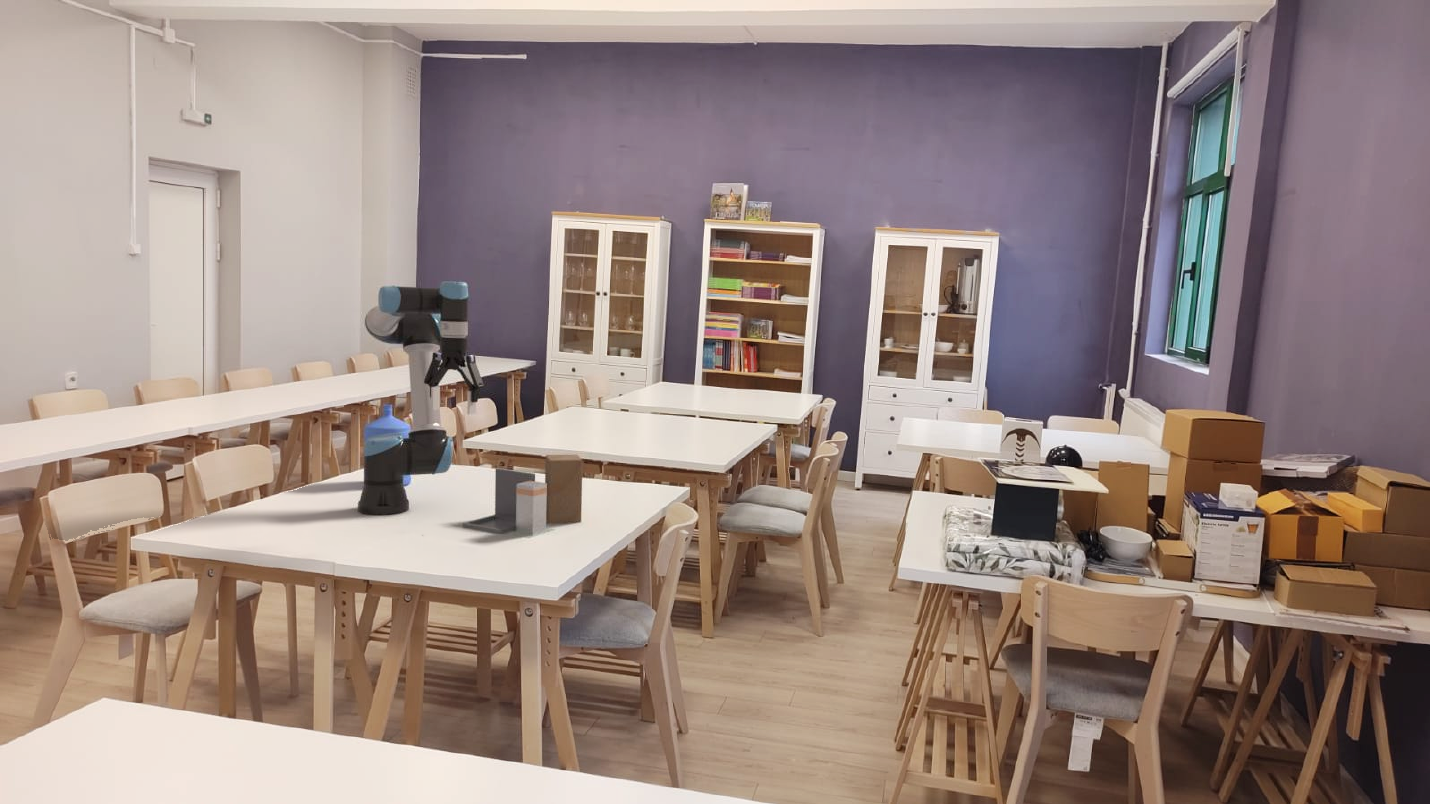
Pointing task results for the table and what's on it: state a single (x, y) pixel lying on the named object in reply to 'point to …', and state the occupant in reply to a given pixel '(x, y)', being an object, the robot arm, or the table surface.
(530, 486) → the block
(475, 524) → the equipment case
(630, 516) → the table surface
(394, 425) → the water jug
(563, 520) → the wooden block
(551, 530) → the sage board
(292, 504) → the table surface
